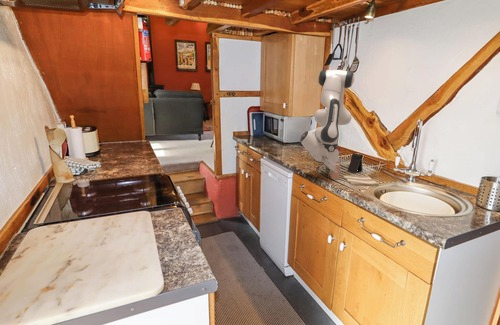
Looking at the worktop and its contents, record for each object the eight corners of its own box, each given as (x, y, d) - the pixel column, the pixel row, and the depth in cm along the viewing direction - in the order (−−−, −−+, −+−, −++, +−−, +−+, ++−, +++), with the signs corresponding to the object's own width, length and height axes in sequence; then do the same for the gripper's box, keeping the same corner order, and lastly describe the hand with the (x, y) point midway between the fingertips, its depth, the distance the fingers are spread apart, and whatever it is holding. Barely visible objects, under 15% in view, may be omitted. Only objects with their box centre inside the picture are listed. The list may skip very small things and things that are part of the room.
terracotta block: (330, 176, 175) (331, 163, 173) (336, 177, 175) (338, 163, 173) (332, 178, 171) (333, 164, 169) (338, 179, 171) (340, 165, 169)
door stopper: (355, 173, 184) (357, 155, 181) (347, 171, 189) (349, 154, 185) (362, 171, 190) (365, 154, 186) (354, 169, 194) (357, 152, 191)
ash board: (342, 176, 176) (342, 175, 175) (367, 177, 176) (367, 175, 176) (351, 185, 161) (351, 183, 161) (378, 186, 162) (378, 184, 161)
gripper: (329, 155, 159) (344, 172, 161) (320, 147, 178) (333, 162, 181) (320, 162, 160) (335, 179, 162) (312, 153, 179) (326, 168, 182)
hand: (334, 170), depth 172 cm, fingers open, 7 cm apart
